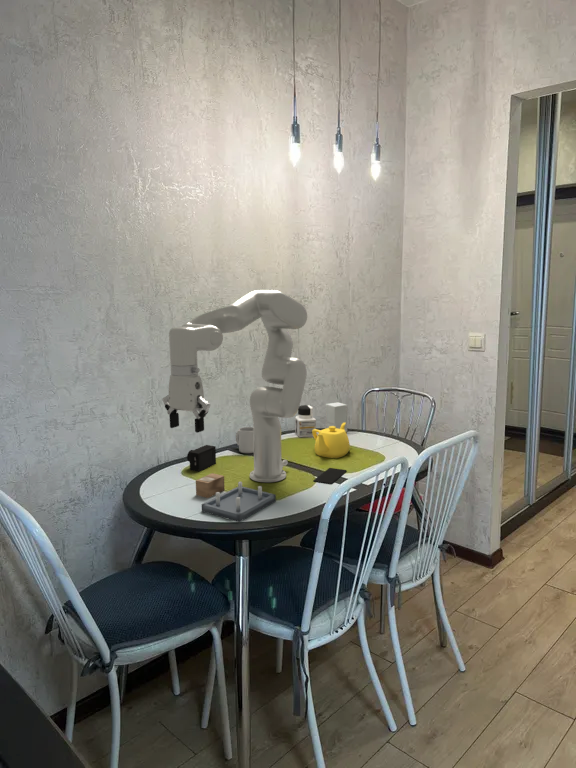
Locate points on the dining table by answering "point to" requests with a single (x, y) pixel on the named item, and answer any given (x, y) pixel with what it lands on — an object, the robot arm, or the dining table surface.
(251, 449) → the cup
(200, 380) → the robot arm
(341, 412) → the supplement box
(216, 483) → the labeled cardboard box
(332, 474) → the smartphone
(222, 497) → the tray
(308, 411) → the container
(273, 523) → the dining table surface
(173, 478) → the dining table surface
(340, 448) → the teapot
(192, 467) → the digital camera
